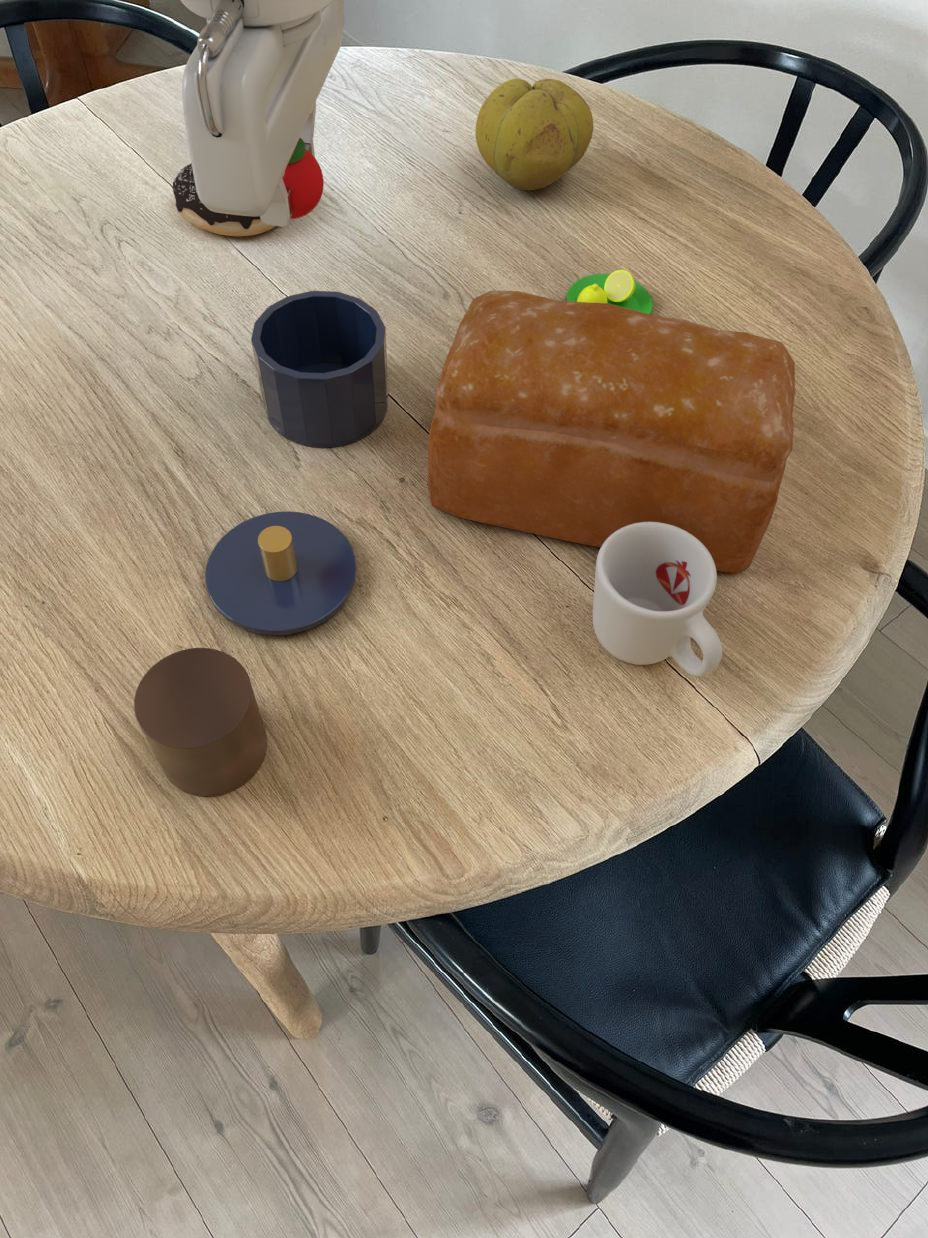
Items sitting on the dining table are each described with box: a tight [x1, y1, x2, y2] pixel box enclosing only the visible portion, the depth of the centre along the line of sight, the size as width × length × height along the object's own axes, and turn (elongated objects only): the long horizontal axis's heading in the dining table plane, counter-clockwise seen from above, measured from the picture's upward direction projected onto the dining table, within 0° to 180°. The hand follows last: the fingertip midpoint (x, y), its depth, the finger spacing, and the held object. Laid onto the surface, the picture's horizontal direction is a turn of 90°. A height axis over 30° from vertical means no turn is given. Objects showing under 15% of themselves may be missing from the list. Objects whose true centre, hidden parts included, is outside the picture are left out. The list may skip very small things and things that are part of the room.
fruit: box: [475, 78, 594, 191], centre depth 98 cm, size 11×12×10 cm
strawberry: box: [282, 138, 325, 220], centre depth 62 cm, size 4×4×5 cm
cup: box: [592, 522, 723, 678], centre depth 67 cm, size 11×8×8 cm
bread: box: [426, 290, 796, 574], centre depth 72 cm, size 14×26×16 cm, turn 76°
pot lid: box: [204, 511, 357, 636], centre depth 71 cm, size 11×11×5 cm
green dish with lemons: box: [566, 269, 653, 315], centre depth 90 cm, size 8×8×3 cm
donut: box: [172, 162, 276, 237], centre depth 96 cm, size 11×12×4 cm
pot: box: [250, 290, 389, 449], centre depth 80 cm, size 10×10×8 cm
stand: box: [133, 647, 268, 798], centre depth 62 cm, size 7×7×7 cm
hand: (289, 193), depth 63 cm, fingers closed on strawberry, 4 cm apart
